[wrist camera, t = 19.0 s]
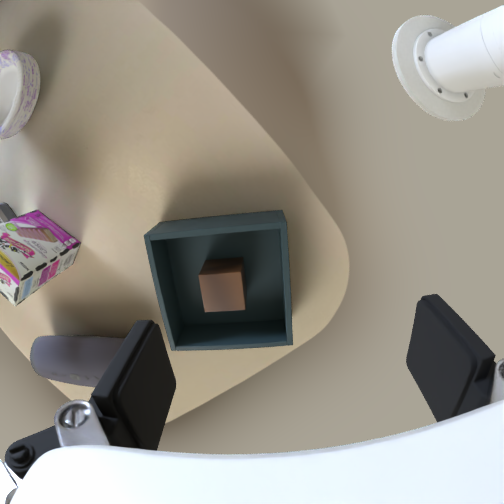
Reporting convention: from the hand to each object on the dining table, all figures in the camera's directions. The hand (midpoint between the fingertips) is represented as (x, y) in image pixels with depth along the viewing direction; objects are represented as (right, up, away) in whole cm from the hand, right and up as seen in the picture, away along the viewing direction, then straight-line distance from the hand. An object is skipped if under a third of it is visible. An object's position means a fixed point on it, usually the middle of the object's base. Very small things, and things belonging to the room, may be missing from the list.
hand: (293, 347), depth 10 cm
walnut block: (-5, 0, +34) cm, 35 cm away
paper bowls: (-41, +30, +26) cm, 57 cm away
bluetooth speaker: (-31, -14, +41) cm, 53 cm away
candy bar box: (-35, +6, +34) cm, 49 cm away
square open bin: (-5, 0, +35) cm, 36 cm away
